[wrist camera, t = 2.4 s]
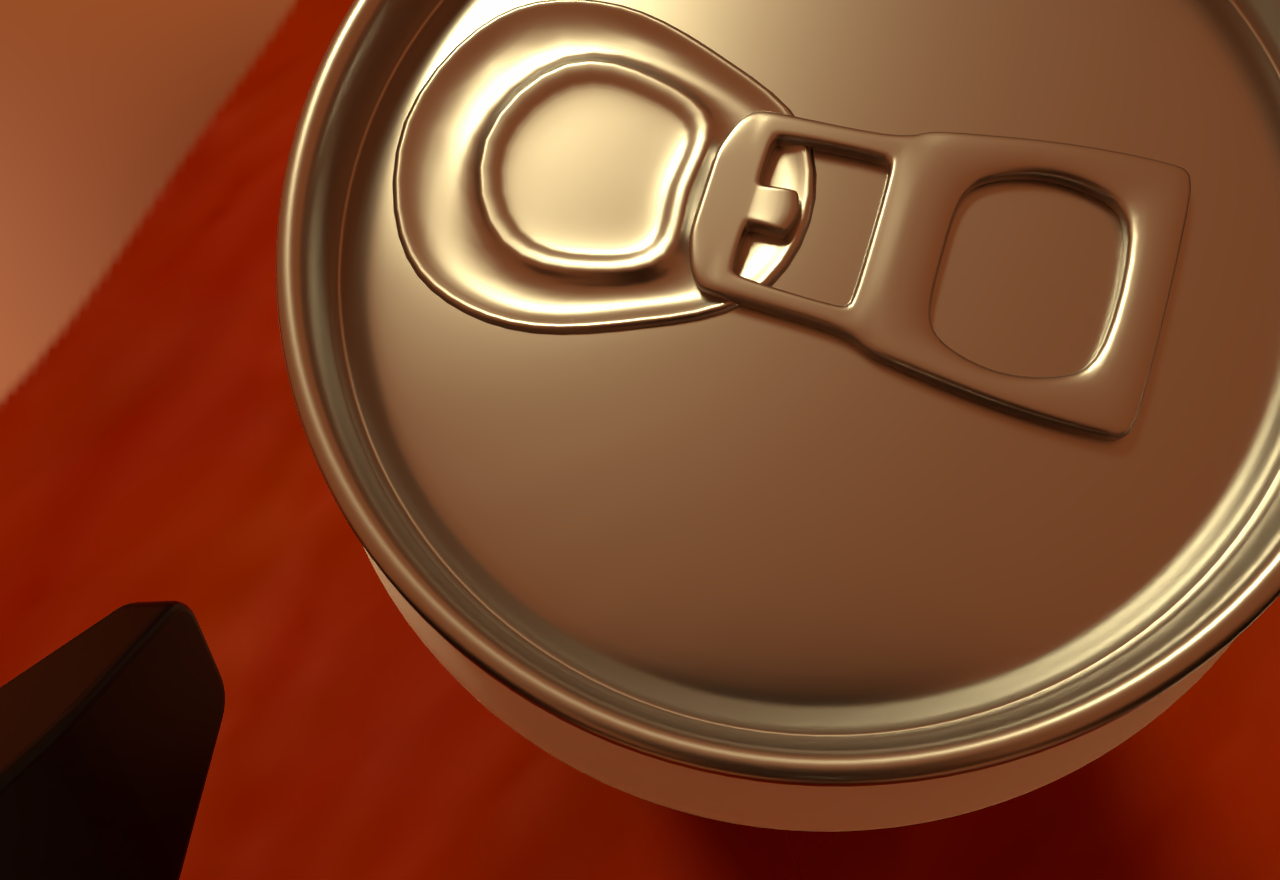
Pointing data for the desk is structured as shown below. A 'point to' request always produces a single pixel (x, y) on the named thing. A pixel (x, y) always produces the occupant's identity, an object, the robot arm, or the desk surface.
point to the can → (800, 375)
